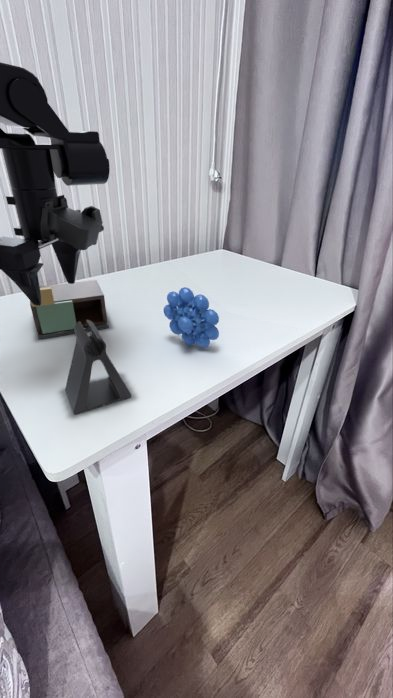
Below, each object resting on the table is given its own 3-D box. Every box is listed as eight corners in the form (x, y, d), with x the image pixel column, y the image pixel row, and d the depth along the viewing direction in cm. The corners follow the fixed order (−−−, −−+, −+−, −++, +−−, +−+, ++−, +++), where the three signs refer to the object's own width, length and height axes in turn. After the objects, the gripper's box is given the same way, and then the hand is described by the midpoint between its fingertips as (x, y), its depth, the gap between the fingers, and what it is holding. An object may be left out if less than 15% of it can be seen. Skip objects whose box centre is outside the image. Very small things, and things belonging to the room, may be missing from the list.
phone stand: (73, 415, 49) (58, 346, 42) (65, 391, 53) (50, 326, 47) (131, 397, 53) (126, 332, 46) (119, 376, 57) (113, 314, 51)
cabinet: (38, 339, 66) (30, 307, 62) (36, 316, 74) (28, 287, 70) (109, 327, 71) (105, 297, 67) (100, 307, 79) (96, 279, 75)
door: (39, 335, 66) (28, 291, 61) (38, 332, 67) (27, 289, 62) (77, 328, 68) (69, 286, 63) (76, 326, 69) (69, 284, 64)
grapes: (154, 348, 65) (152, 291, 59) (169, 332, 70) (169, 279, 64) (209, 363, 62) (213, 304, 55) (221, 345, 67) (226, 290, 60)
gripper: (44, 202, 36) (68, 327, 45) (118, 184, 52) (125, 279, 60) (-42, 194, 38) (-3, 315, 47) (54, 179, 54) (70, 272, 62)
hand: (55, 293), depth 54 cm, fingers open, 9 cm apart
